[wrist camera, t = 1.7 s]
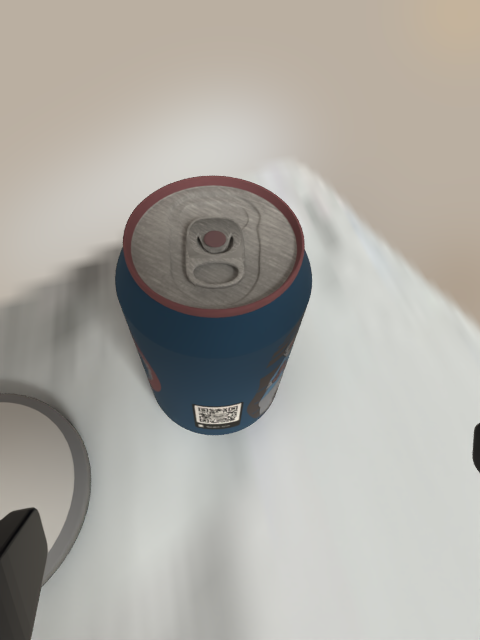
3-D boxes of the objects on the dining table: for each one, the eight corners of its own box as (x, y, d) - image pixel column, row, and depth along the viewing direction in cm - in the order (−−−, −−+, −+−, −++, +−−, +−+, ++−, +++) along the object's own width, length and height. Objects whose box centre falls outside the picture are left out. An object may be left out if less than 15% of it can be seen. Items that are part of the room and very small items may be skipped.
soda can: (158, 329, 24) (115, 161, 14) (270, 327, 25) (307, 163, 14) (150, 444, 21) (85, 333, 10) (281, 439, 21) (343, 328, 11)
